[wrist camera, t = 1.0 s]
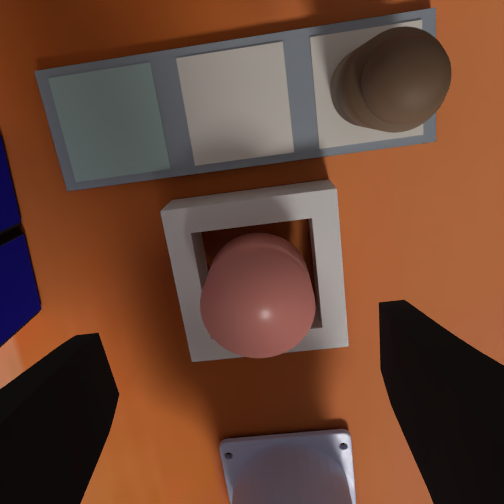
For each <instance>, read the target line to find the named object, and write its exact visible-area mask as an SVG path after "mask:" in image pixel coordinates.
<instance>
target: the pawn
mask: <svg viewBox="0 0 504 504" xmlns="http://www.w3.org/2000/svg"><path fill="white" fill-rule="evenodd" d="M450 82H451V65H450V60H449V57H448V55H447V53H446V51H445V50H444V48H443V47H442V45H441V44H440V42H439V41H438V40H437V39H436V38H435V37H434V36H432V35H431V34H430V33H428V32H426V31H424V30H422V29H419V28H415V27H408V26H403V27H395V28H391V29H388V30H386V31H383V32H382V33H380V34H378V35H376V36H375V37H373V38H372V39H370V40H369V41H367V42H366V43H364V44H363V45H361V46H360V47H358V48H357V49H355V50H353V51H352V52H350V53H349V54H348V55H346V56H345V57H344V58H343V59H342V60H341V62H340V63H339V64H338V66H337V67H336V69H335V71H334V74H333V76H332V80H331V87H330V93H331V99H332V103H333V105H334V108H335V109H336V111H337V113H338V114H339V115H340V116H341V117H342V118H343V119H344V120H346V121H347V122H349V123H351V124H353V125H356V126H361V127H365V128H370V129H375V130H379V131H384V132H391V133H397V132H404V131H408V130H411V129H414V128H416V127H418V126H420V125H422V124H423V123H425V122H426V121H427V120H428V119H430V118H431V117H432V116H433V115H434V114H435V113H436V111H437V110H438V109H439V107H440V106H441V104H442V102H443V100H444V98H445V96H446V94H447V92H448V89H449V86H450Z"/></svg>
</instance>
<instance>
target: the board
mask: <svg viewBox="0 0 504 504" xmlns="http://www.w3.org/2000/svg"><path fill="white" fill-rule="evenodd" d="M403 26H408V27H415V28H419V29H422V30H424V31H426V32H428V33H430V34H431V35H432V36H434V37H435V38H436V8H429V9H423V10H417V11H410V12H404V13H398V14H391V15H385V16H379V17H372V18H366V19H360V20H353V21H347V22H341V23H335V24H328V25H322V26H316V27H309V28H303V29H297V30H290V31H284V32H278V33H271V34H265V35H259V36H252V37H246V38H240V39H233V40H227V41H221V42H215V43H208V44H202V45H196V46H189V47H183V48H177V49H170V50H164V51H158V52H151V53H145V54H139V55H132V56H126V57H120V58H113V59H107V60H101V61H95V62H88V63H82V64H76V65H69V66H63V67H57V68H50V69H44V70H38V71H34V73H35V76H36V80H37V84H38V87H39V91H40V95H41V98H42V102H43V105H44V109H45V113H46V116H47V120H48V123H49V127H50V131H51V134H52V138H53V142H54V145H55V149H56V152H57V156H58V160H59V163H60V167H61V171H62V174H63V178H64V181H65V185H66V189H67V191H73V190H81V189H88V188H95V187H103V186H110V185H118V184H125V183H132V182H140V181H147V180H155V179H162V178H169V177H177V176H184V175H192V174H199V173H207V172H214V171H221V170H229V169H236V168H244V167H251V166H258V165H266V164H273V163H281V162H288V161H295V160H303V159H310V158H318V157H325V156H332V155H340V154H347V153H355V152H362V151H370V150H377V149H384V148H392V147H399V146H407V145H414V144H421V143H429V142H436V113H435V114H434V115H433V116H432V117H431V118H430V119H428V120H427V121H426V122H425V123H423V124H422V125H420V126H418V127H416V128H414V129H411V130H408V131H404V132H397V133H391V132H384V131H379V130H375V129H370V128H365V127H361V126H356V125H353V124H351V123H349V122H347V121H346V120H344V119H343V118H342V117H341V116H340V115H339V114H338V113H337V111H336V109H335V108H334V105H333V103H332V99H331V93H330V87H331V80H332V76H333V74H334V71H335V69H336V67H337V66H338V64H339V63H340V62H341V60H342V59H343V58H344V57H345V56H346V55H348V54H349V53H350V52H352V51H353V50H355V49H357V48H358V47H360V46H361V45H363V44H364V43H366V42H367V41H369V40H370V39H372V38H373V37H375V36H376V35H378V34H380V33H382V32H383V31H386V30H388V29H391V28H395V27H403Z"/></svg>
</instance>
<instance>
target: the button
mask: <svg viewBox="0 0 504 504" xmlns="http://www.w3.org/2000/svg"><path fill="white" fill-rule="evenodd" d="M200 312H201V317H202V321H203V323H204V325H205V328H206V329H207V331H208V333H209V334H210V335H211V337H212V338H213V339H214V340H215V341H216V342H217V343H218V344H219V345H221V346H222V347H223V348H225V349H227V350H228V351H230V352H232V353H235V354H237V355H240V356H244V357H249V358H267V357H273V356H276V355H280V354H282V353H284V352H287V351H288V350H290V349H292V348H293V347H295V346H296V345H297V344H298V343H299V342H300V341H301V340H302V339H303V338H304V337H305V336H306V334H307V333H308V331H309V330H310V328H311V325H312V323H313V320H314V316H315V297H314V292H313V288H312V284H311V280H310V276H309V272H308V268H307V265H306V262H305V260H304V258H303V256H302V255H301V254H300V252H299V251H298V250H297V249H296V248H295V247H294V246H293V245H292V244H291V243H290V242H288V241H287V240H285V239H283V238H281V237H279V236H276V235H273V234H269V233H259V232H258V233H249V234H244V235H241V236H238V237H236V238H234V239H232V240H231V241H229V242H228V243H226V244H225V245H224V246H223V247H222V248H221V249H220V250H219V251H218V253H217V254H216V256H215V258H214V260H213V262H212V264H211V267H210V270H209V273H208V276H207V278H206V281H205V284H204V287H203V290H202V293H201V298H200Z"/></svg>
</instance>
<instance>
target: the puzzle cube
mask: <svg viewBox="0 0 504 504" xmlns="http://www.w3.org/2000/svg"><path fill="white" fill-rule="evenodd" d="M20 223H21V218H20V214H19V210H18V205H17V201H16V197H15V192H14V188H13V184H12V179H11V175H10V171H9V167H8V162H7V158H6V154H5V149H4V145H3V141H2V136H1V135H0V347H1V346H2V345H3V344H5V343H6V342H7V341H8V340H9V339H10V338H11V337H12V336H13V335H15V334H16V333H17V332H18V331H19V330H20V329H21V328H22V327H23V326H25V325H26V324H27V323H28V322H29V321H30V320H31V319H32V318H33V317H35V316H36V315H37V314H38V313H39V311H40V310H41V305H40V300H39V296H38V292H37V287H36V283H35V279H34V275H33V270H32V266H31V262H30V257H29V253H28V249H27V244H26V240H25V236H24V234H23V233H22V232H21V231H20V230H18V229H17V227H18V226H19V225H20Z"/></svg>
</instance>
